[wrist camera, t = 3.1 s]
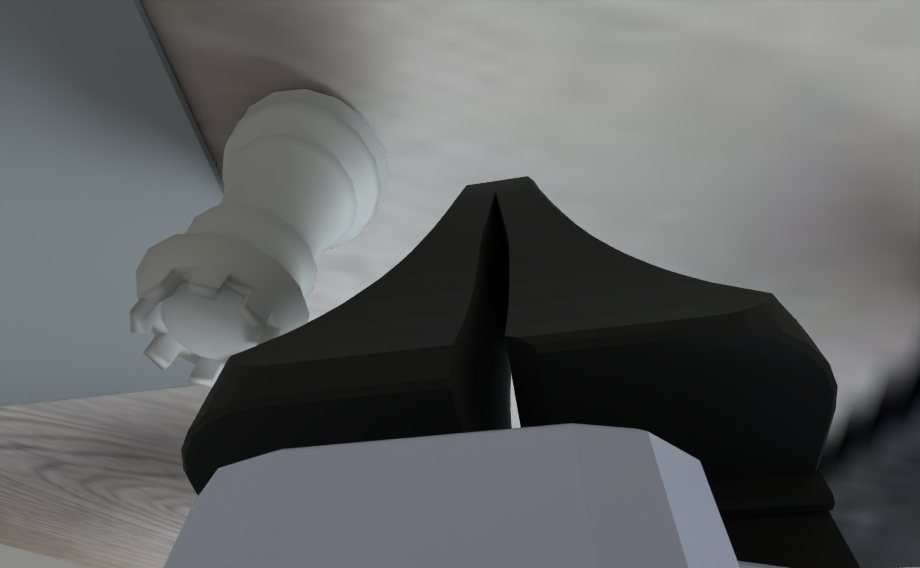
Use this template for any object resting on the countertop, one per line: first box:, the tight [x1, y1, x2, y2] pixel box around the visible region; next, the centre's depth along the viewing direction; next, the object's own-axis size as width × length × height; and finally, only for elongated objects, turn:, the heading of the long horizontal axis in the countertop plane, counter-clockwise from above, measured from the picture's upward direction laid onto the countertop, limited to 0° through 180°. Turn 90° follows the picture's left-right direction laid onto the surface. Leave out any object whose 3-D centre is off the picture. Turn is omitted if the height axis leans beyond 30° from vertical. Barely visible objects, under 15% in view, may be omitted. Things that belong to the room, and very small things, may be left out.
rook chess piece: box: [130, 89, 388, 388], centre depth 13 cm, size 4×4×8 cm
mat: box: [0, 0, 225, 407], centre depth 18 cm, size 16×14×1 cm
